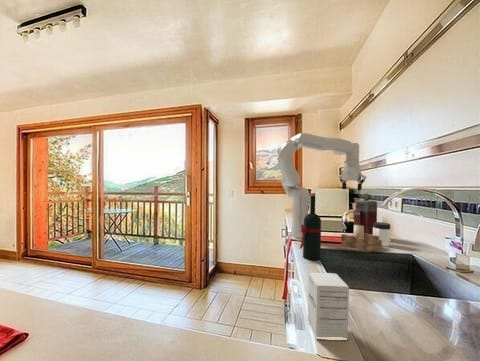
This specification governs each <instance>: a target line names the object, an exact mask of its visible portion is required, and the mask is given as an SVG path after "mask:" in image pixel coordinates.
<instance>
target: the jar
mask: <svg viewBox="0 0 480 361" xmlns="http://www.w3.org/2000/svg"><path fill="white" fill-rule="evenodd" d="M391 232H392V228H391V224H390V223H387V222H381V221H380V222H379V221H377V222H374V227H373V235H376V236H379V240H382V247H386V248H387V247H390V246H391V241H392V240H391V237H392V236H391V235H392V234H391Z"/></svg>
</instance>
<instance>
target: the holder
mask: <svg viewBox="0 0 480 361" xmlns="http://www.w3.org/2000/svg"><path fill="white" fill-rule="evenodd" d="M340 236H341V240H340V241H341V243H340V245H341V246H345V247H349V248H351V249H356V250H360V251H364V252H367V253H371V252H374V251H378V250H379V249H381V248H382V247H383V246H382V240H379V236H376V235H371V234H366V233H364V238H359V237H355V236H354V230H353V232H352V235H349V234H345V233H342V234H341V235H340Z"/></svg>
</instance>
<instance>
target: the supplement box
mask: <svg viewBox="0 0 480 361" xmlns="http://www.w3.org/2000/svg"><path fill="white" fill-rule="evenodd" d="M349 296H350V286H348V284H347V283H346V282H345V281H344V279H342V278H341V277H340V276H339V275H338V273H334V272H333V273H331V272H309V273H308V296H307V298H308V299H307V300H308V301H307V321H308V323H309V325H311V326H310V328H311V327H312V328H311V330H312V329H313V330H312V332H313V331H314V332H313V334H314V333H315V335H316V336H317V337H343V338H348V339H349V305H350V303H349V299H350V297H349ZM315 335H314V336H315Z"/></svg>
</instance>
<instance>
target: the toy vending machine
mask: <svg viewBox="0 0 480 361" xmlns="http://www.w3.org/2000/svg"><path fill="white" fill-rule="evenodd" d="M361 197H362V198H361V199H357V200H355V207H354V208H355V210H354V213H353V214H354V217H353V219H354V222H353V226H354V225H361V226H364V233H366V234H371V235H373V227H374V222H378V201H377V200H370V199H371V195H370V194H369V193H368V192H367V193H363V194H362V195H361Z"/></svg>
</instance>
